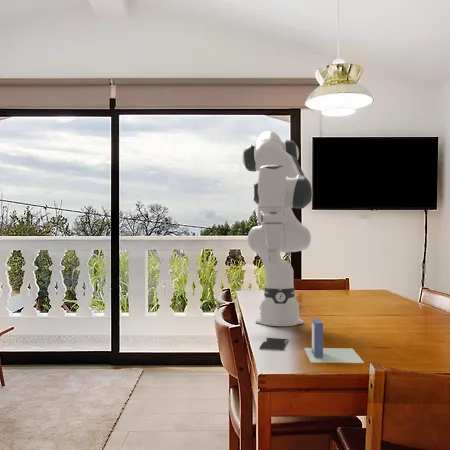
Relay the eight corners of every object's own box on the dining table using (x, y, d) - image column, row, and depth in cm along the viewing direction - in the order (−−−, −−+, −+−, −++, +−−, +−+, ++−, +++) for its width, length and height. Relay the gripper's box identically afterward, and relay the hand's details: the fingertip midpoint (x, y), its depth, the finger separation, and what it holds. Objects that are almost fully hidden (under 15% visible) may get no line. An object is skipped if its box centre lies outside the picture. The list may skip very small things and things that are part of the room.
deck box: (311, 351, 149) (311, 318, 149) (319, 351, 149) (319, 319, 149) (314, 357, 143) (314, 323, 143) (323, 357, 143) (323, 323, 143)
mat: (303, 349, 154) (303, 347, 154) (352, 349, 153) (352, 348, 153) (310, 363, 138) (310, 362, 138) (364, 364, 137) (364, 362, 137)
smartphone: (258, 348, 152) (266, 337, 167) (258, 352, 152) (266, 341, 167) (283, 350, 150) (288, 338, 165) (283, 354, 150) (288, 342, 165)
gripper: (261, 217, 160) (261, 260, 160) (262, 216, 140) (263, 265, 140) (280, 217, 160) (280, 260, 160) (285, 216, 139) (285, 265, 139)
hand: (272, 262), depth 150 cm, fingers open, 7 cm apart
